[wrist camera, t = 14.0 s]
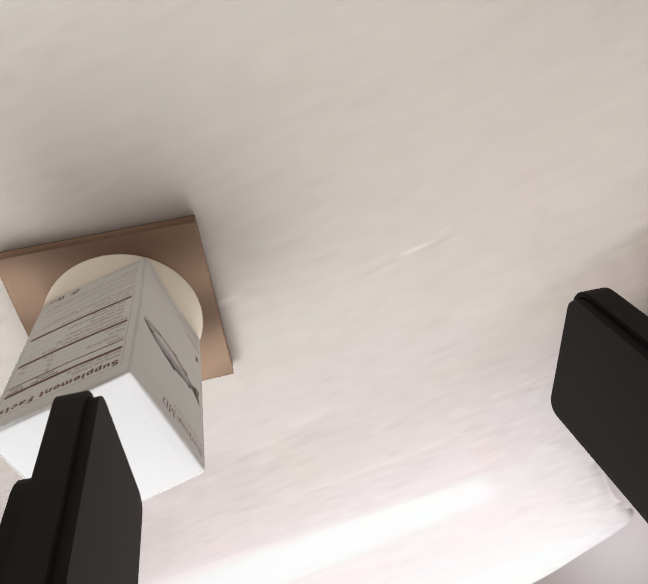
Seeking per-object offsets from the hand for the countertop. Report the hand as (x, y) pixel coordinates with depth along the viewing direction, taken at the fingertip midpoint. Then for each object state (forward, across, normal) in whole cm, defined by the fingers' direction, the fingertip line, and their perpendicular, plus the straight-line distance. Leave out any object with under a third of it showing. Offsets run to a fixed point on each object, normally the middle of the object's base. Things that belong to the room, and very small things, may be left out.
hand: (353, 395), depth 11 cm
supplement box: (+25, +9, +12) cm, 29 cm away
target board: (+26, +9, +12) cm, 30 cm away
